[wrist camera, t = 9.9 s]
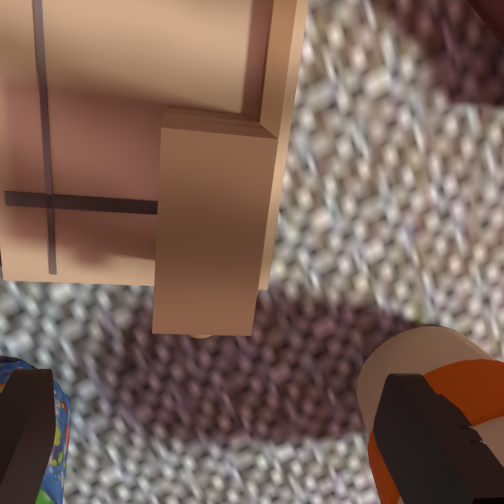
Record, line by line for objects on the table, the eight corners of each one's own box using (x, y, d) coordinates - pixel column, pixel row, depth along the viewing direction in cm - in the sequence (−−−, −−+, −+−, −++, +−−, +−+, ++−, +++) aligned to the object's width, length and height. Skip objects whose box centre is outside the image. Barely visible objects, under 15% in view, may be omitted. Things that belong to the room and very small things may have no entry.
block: (166, 106, 22) (161, 127, 16) (250, 115, 23) (278, 139, 16) (158, 279, 25) (151, 355, 19) (231, 282, 26) (248, 356, 20)
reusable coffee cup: (474, 269, 30) (717, 456, 16) (519, 397, 35) (730, 619, 22) (301, 359, 31) (393, 605, 17) (369, 470, 36) (481, 727, 23)
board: (-35, -238, 18) (-64, -277, 15) (323, -164, 20) (340, -188, 18) (12, 267, 26) (-2, 287, 24) (263, 278, 28) (269, 296, 26)
